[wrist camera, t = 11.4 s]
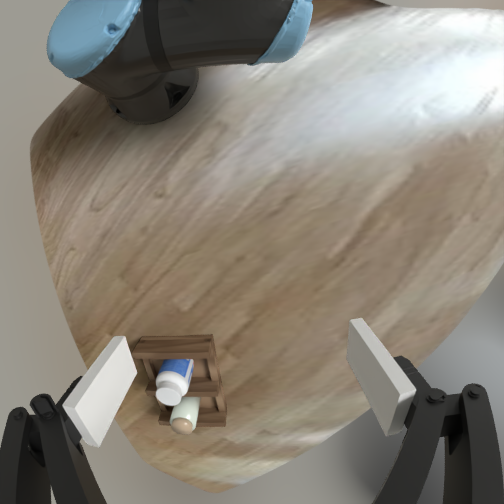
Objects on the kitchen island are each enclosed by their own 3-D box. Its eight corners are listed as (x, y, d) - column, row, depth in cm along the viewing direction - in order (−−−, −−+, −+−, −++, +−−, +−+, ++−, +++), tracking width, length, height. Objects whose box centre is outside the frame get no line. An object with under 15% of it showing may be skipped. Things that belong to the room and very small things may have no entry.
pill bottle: (159, 353, 46) (144, 387, 37) (185, 345, 46) (173, 380, 36) (174, 375, 47) (163, 411, 38) (199, 369, 47) (191, 405, 37)
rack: (142, 336, 47) (131, 352, 41) (212, 334, 46) (208, 352, 41) (165, 406, 51) (159, 424, 45) (226, 407, 51) (225, 426, 45)
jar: (175, 386, 48) (165, 419, 39) (198, 386, 48) (191, 420, 39) (181, 403, 49) (172, 435, 40) (203, 403, 49) (197, 436, 40)
